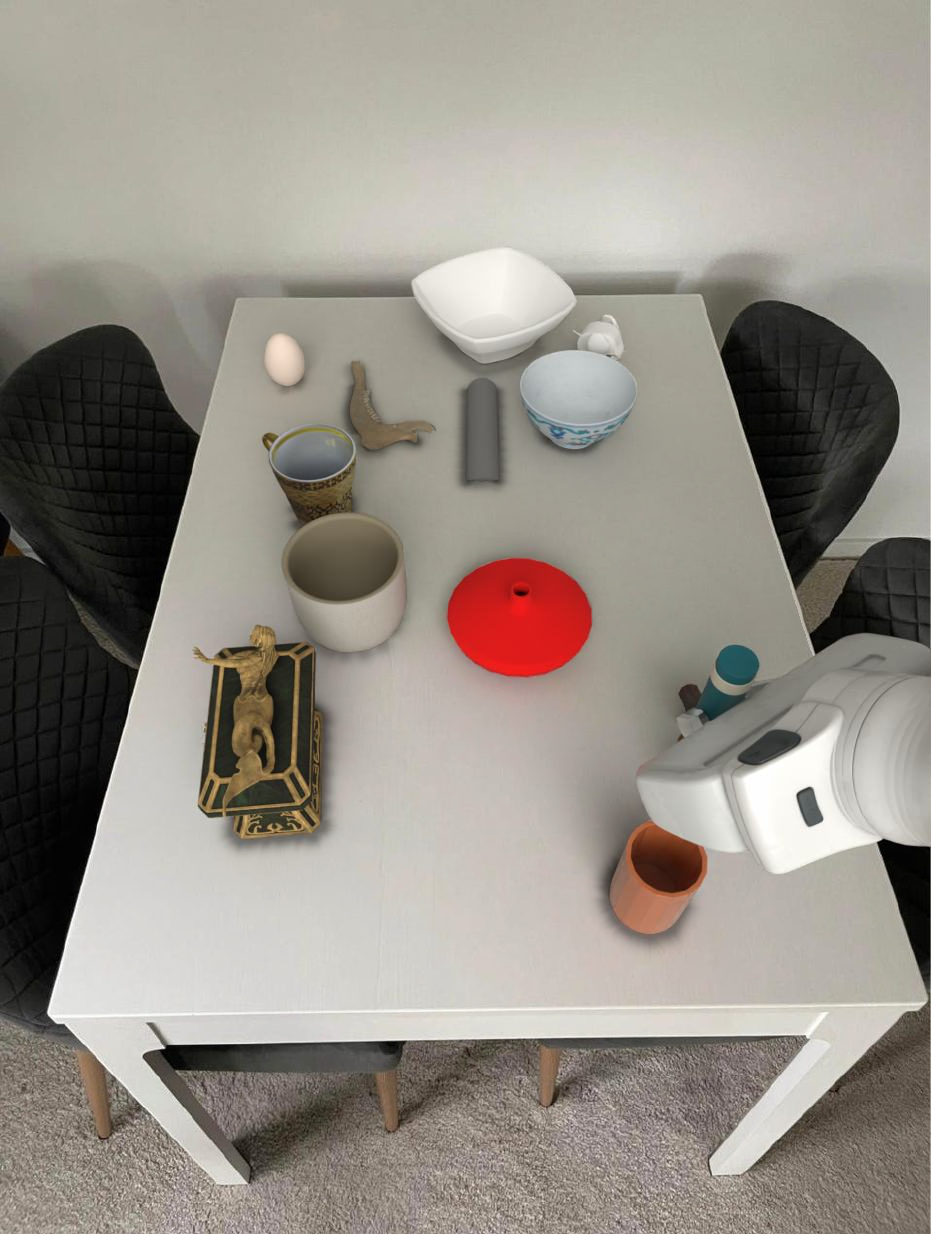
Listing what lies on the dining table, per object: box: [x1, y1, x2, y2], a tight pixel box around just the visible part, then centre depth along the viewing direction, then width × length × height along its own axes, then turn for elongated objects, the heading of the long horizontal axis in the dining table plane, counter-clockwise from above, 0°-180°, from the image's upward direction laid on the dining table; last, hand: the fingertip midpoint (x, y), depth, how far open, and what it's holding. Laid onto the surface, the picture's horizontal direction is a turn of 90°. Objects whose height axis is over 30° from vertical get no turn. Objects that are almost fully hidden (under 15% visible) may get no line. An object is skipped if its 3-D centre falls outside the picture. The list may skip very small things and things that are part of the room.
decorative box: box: [192, 623, 323, 840], centre depth 72 cm, size 20×10×20 cm, turn 5°
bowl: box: [410, 246, 578, 364], centre depth 119 cm, size 21×21×9 cm
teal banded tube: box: [683, 644, 760, 739], centre depth 58 cm, size 3×3×14 cm
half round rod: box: [465, 377, 500, 482], centre depth 110 cm, size 4×20×2 cm, turn 179°
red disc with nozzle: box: [446, 557, 593, 678], centre depth 88 cm, size 16×16×7 cm
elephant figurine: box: [572, 314, 626, 361], centre depth 118 cm, size 7×8×6 cm
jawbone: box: [349, 360, 437, 450], centre depth 113 cm, size 9×20×2 cm, turn 37°
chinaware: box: [519, 349, 639, 450], centre depth 108 cm, size 15×15×8 cm
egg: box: [263, 332, 306, 387], centre depth 114 cm, size 6×6×8 cm
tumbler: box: [609, 820, 708, 935], centre depth 70 cm, size 6×6×10 cm
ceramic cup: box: [261, 422, 357, 526], centre depth 99 cm, size 13×10×10 cm
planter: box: [281, 511, 408, 653], centre depth 88 cm, size 12×12×11 cm
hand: (707, 709), depth 58 cm, fingers closed on teal banded tube, 2 cm apart
